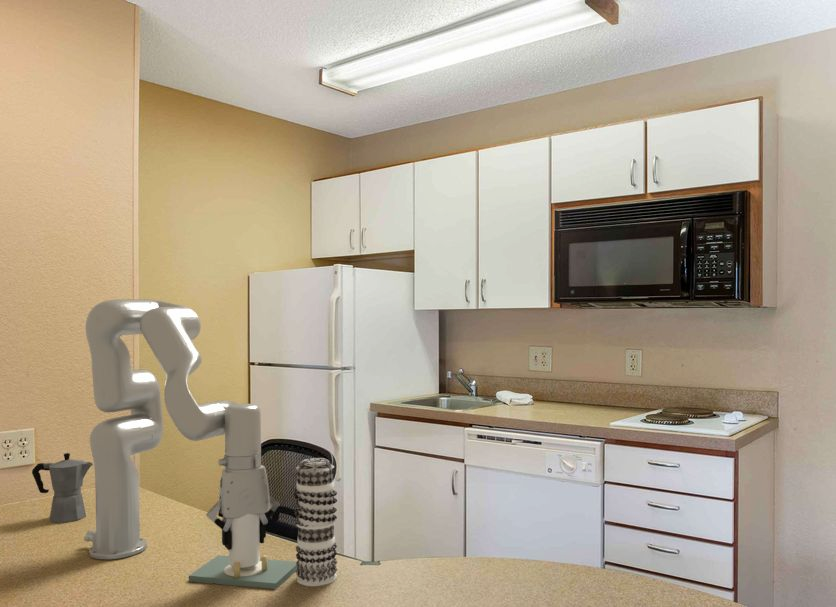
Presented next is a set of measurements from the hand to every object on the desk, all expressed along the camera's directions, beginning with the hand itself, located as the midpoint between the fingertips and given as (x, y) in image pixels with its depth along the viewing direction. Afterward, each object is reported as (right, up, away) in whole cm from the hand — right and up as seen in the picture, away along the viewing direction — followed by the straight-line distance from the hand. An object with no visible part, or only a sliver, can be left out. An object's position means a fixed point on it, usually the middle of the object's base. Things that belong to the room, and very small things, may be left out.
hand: (244, 543), depth 150 cm
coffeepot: (-60, -8, +42) cm, 74 cm away
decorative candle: (+16, -6, -3) cm, 18 cm away
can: (0, -4, 0) cm, 4 cm away
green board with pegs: (0, -7, 0) cm, 7 cm away
